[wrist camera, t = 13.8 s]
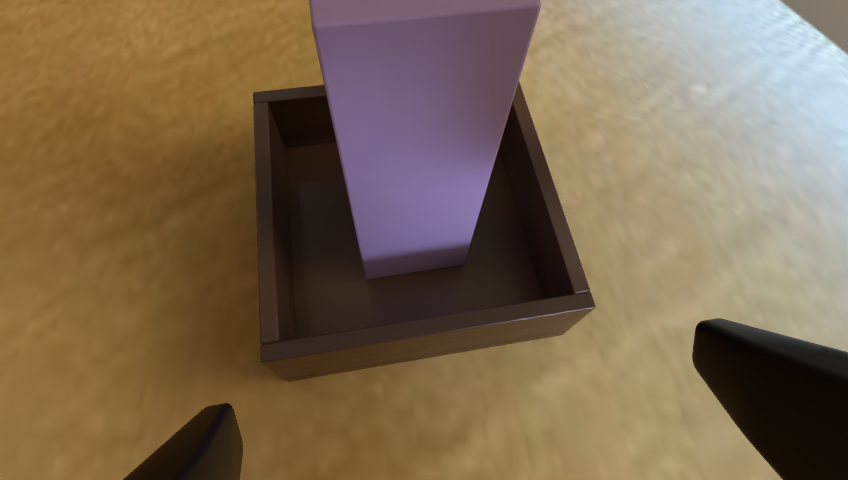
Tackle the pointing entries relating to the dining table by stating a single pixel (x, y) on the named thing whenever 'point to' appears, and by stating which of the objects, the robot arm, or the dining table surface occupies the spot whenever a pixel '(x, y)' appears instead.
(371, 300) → the tray
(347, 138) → the block
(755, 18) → the dining table surface
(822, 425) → the robot arm
